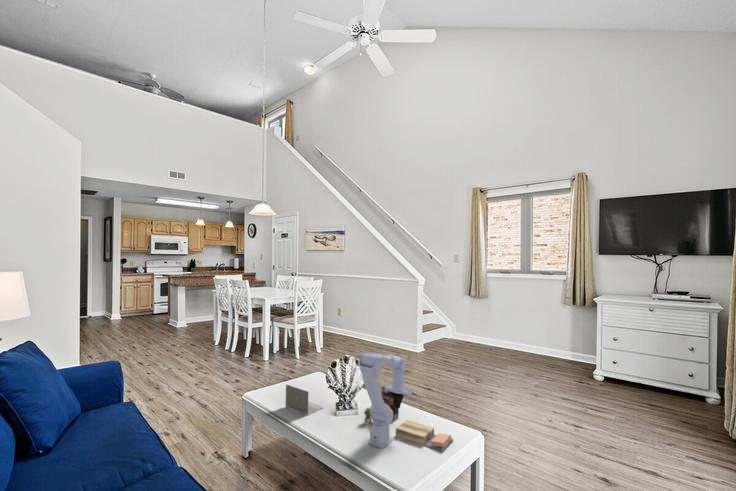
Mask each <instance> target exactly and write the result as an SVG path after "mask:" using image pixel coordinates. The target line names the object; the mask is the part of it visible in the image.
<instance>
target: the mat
mask: <svg viewBox="0 0 736 491" xmlns="http://www.w3.org/2000/svg"><path fill="white" fill-rule="evenodd" d="M437 435H438V434H434V436H433V437H432V438H431V439H430V440H429V441H428V442H427V443H426V444H424V445H423V446H424V447H427V448H429V449H432V450H435V451H438V452H441V453H443V452H444V451H445V450H447V448H448V447H449V446H450V445H451V444H452V443H453V441H454V438H453V437H451V440H450V442H449V443H448V444H447V445H446V446H445V447H444V448H443V447H437V446H432V445H431V441H432V440H433V439H434V438H435V437H436V436H437Z"/></svg>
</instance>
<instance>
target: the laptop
mask: <svg viewBox="0 0 736 491" xmlns="http://www.w3.org/2000/svg"><path fill="white" fill-rule="evenodd" d="M285 407H286V408H287V409H290V410H293V411H295V412H298V413H301V414H303V415H306V416H310V415H311V414H314V413H316V412H318V411H319V410H322V409H323V408H324V406H321V405H318V404H315V403H313V402H310V401H309V391H306V390H304V389H302V388H298V387H295V386H292V385H289V384H285Z"/></svg>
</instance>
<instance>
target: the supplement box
mask: <svg viewBox="0 0 736 491" xmlns="http://www.w3.org/2000/svg"><path fill="white" fill-rule="evenodd" d="M386 386H390V387H392V386H391V385H388V384H386V385H383V386H381V395H382V398H383V401H384V403H385V404H387V405H388V406H389V407H390V409H391V410H392V411H393V420H392V421H395V420H397V419H399V416H400V415H399V412H400V411H399V409H400V408H399V409H397V408H396V406H395V402H394V400H393V398H392V396H391V394H392V393H393V392H390V391H385V387H386Z"/></svg>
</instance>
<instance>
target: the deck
mask: <svg viewBox="0 0 736 491" xmlns="http://www.w3.org/2000/svg"><path fill="white" fill-rule="evenodd" d="M434 435H435V428H434V427H430V426H428V425H424V424H422V423H418V422H414V421H412V420H411V421H410V420H407V419H406V420H405V421H404V422H402V423H401V424H399V425H398V426H397V427H396V428H395V437H399V438H402V439H405V440H408V441H410V442H413V443H417V444H420V445H423V446H424V444H426V443H427V442H428V441H429V440H430V439H431V438H432V437H433V436H434Z"/></svg>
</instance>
